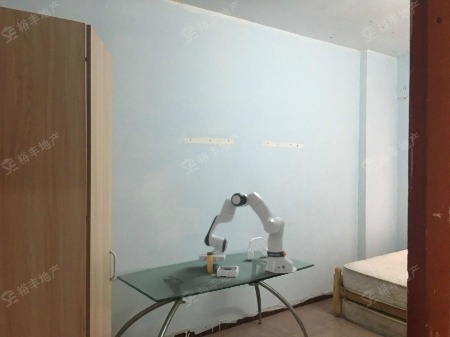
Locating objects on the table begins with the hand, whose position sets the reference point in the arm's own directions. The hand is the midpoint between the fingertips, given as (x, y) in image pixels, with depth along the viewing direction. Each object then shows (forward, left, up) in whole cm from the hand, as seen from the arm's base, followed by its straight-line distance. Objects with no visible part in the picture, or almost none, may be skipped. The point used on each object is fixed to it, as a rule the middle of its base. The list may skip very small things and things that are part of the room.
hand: (209, 260), depth 249 cm
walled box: (-14, +3, -9) cm, 17 cm away
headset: (-33, -46, -9) cm, 57 cm away
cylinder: (0, -1, -9) cm, 9 cm away
